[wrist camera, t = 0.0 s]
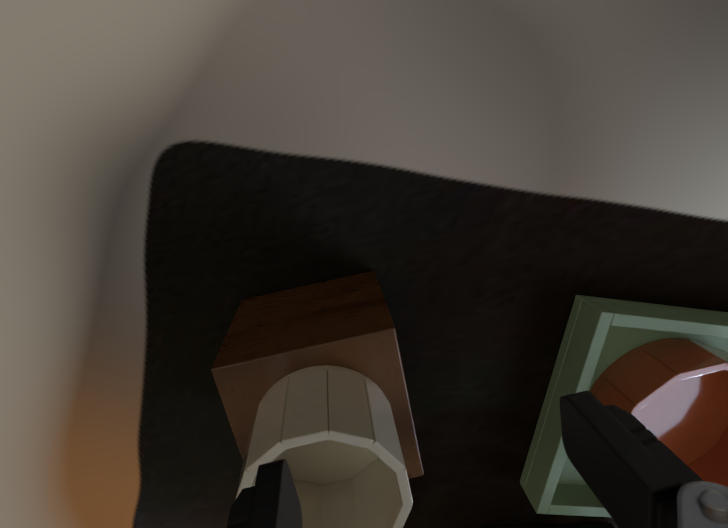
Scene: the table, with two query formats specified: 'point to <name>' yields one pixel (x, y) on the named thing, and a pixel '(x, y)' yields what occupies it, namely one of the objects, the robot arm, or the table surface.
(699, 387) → the big bowl
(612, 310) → the tray
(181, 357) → the table surface
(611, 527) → the light fixture
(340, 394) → the small bowl
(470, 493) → the table surface
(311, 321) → the block
